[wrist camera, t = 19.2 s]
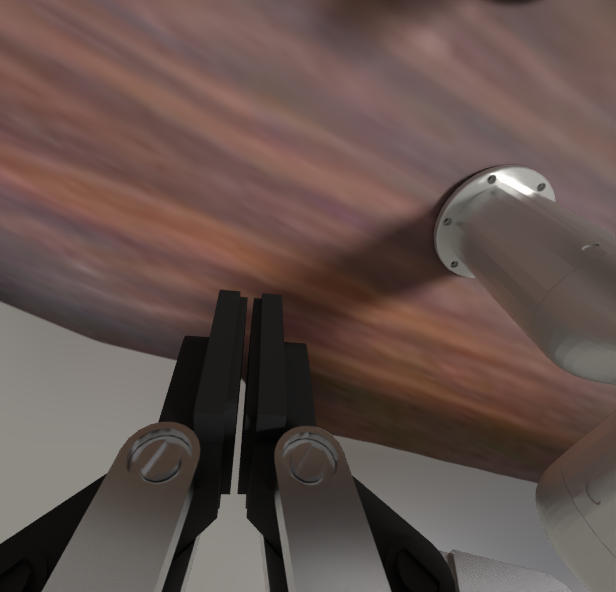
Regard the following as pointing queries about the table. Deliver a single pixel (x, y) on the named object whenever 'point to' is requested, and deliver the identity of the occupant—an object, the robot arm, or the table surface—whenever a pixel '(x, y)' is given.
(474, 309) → the table surface
